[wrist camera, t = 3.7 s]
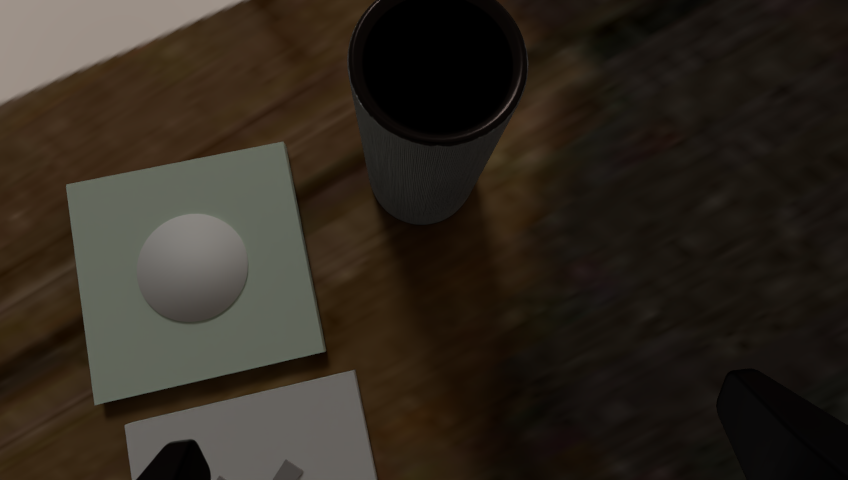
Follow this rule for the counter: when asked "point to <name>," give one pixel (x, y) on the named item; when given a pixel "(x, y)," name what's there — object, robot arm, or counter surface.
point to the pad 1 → (192, 271)
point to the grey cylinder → (433, 98)
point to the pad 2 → (270, 434)
